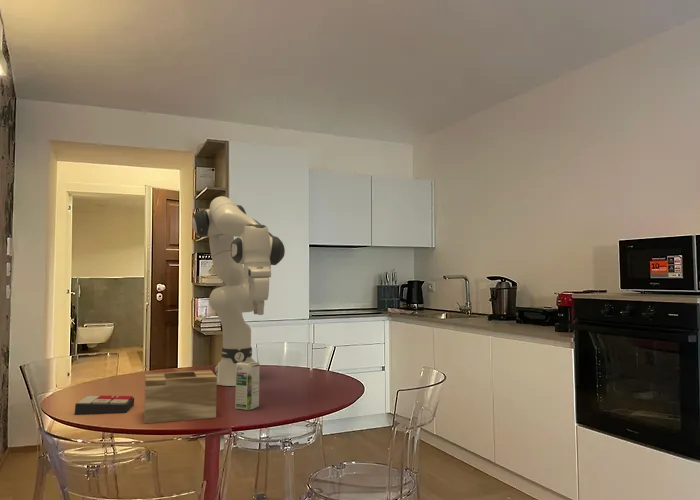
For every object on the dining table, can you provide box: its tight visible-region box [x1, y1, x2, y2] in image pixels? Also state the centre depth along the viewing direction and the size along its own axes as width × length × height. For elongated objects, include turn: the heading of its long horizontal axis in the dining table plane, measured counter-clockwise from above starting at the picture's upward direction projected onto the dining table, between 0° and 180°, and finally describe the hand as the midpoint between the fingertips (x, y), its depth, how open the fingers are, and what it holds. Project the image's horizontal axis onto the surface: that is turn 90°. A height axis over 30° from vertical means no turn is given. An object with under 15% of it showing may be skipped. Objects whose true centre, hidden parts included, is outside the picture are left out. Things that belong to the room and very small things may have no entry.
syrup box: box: [234, 361, 260, 411], centre depth 175 cm, size 6×6×14 cm
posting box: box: [143, 369, 218, 424], centre depth 166 cm, size 14×20×12 cm
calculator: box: [74, 395, 135, 416], centre depth 172 cm, size 11×4×15 cm
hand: (258, 314), depth 177 cm, fingers open, 8 cm apart
